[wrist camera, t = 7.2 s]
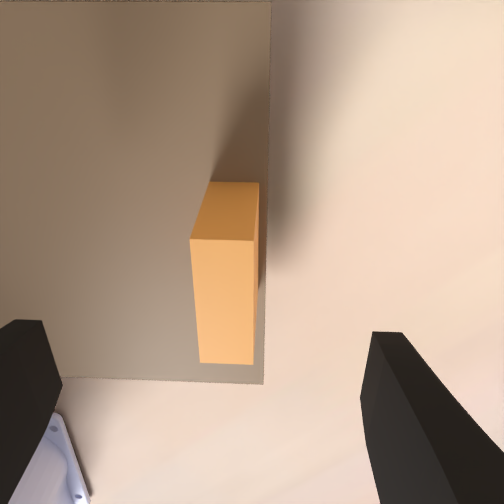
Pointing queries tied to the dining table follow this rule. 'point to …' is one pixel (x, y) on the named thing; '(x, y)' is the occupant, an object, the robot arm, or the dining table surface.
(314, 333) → the dining table surface
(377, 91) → the dining table surface
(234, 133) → the lid
